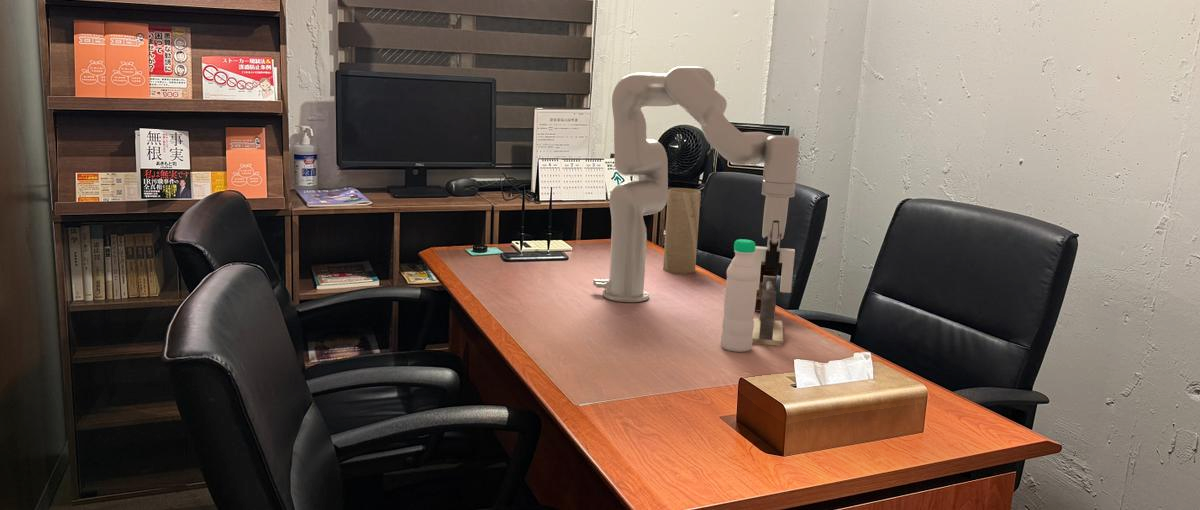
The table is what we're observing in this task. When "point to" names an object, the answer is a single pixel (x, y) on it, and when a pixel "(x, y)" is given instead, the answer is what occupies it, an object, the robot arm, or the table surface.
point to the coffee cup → (765, 272)
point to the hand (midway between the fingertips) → (771, 265)
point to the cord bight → (784, 258)
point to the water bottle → (740, 298)
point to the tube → (681, 230)
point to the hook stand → (768, 317)
